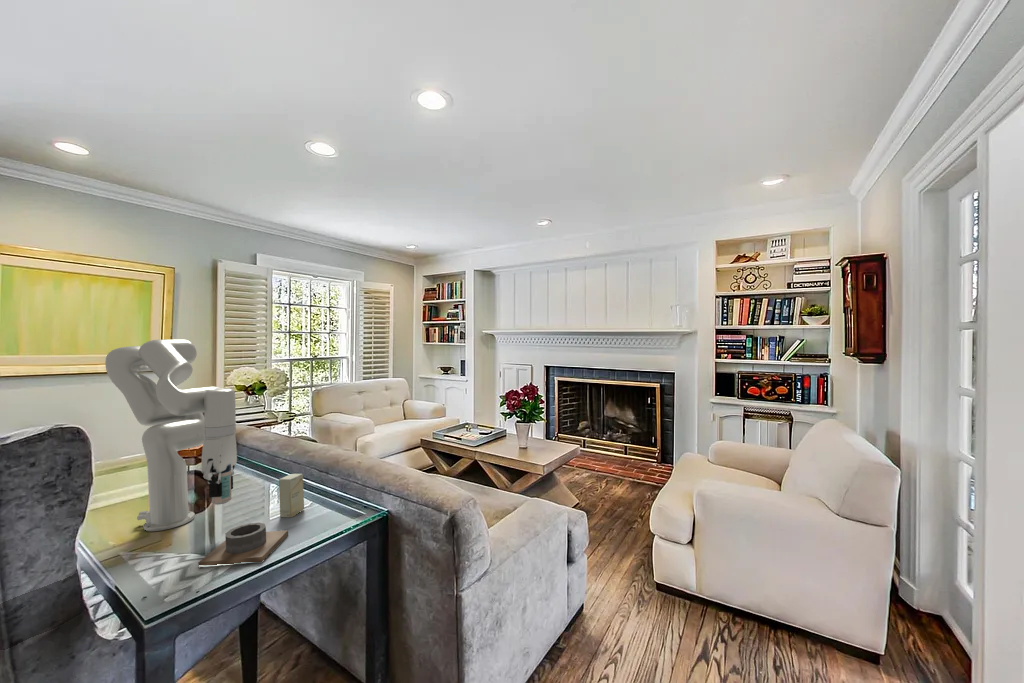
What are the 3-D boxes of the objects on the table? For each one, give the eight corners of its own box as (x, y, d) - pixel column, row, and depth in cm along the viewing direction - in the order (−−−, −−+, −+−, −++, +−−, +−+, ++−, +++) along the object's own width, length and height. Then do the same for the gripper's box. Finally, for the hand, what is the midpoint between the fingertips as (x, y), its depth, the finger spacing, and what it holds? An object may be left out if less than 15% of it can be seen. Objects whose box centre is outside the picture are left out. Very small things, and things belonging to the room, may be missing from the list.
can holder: (198, 568, 104) (197, 546, 104) (232, 539, 118) (231, 520, 118) (262, 562, 105) (261, 540, 105) (288, 535, 120) (287, 516, 120)
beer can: (218, 499, 125) (217, 459, 125) (234, 498, 125) (234, 458, 125) (207, 505, 120) (207, 464, 120) (225, 505, 121) (224, 463, 120)
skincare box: (291, 518, 132) (289, 479, 132) (279, 517, 133) (277, 479, 133) (305, 510, 138) (303, 473, 138) (293, 509, 139) (291, 473, 139)
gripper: (223, 425, 131) (224, 483, 131) (187, 438, 114) (188, 505, 114) (249, 424, 131) (250, 482, 132) (216, 437, 114) (217, 504, 115)
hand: (221, 492), depth 123 cm, fingers closed on beer can, 4 cm apart
